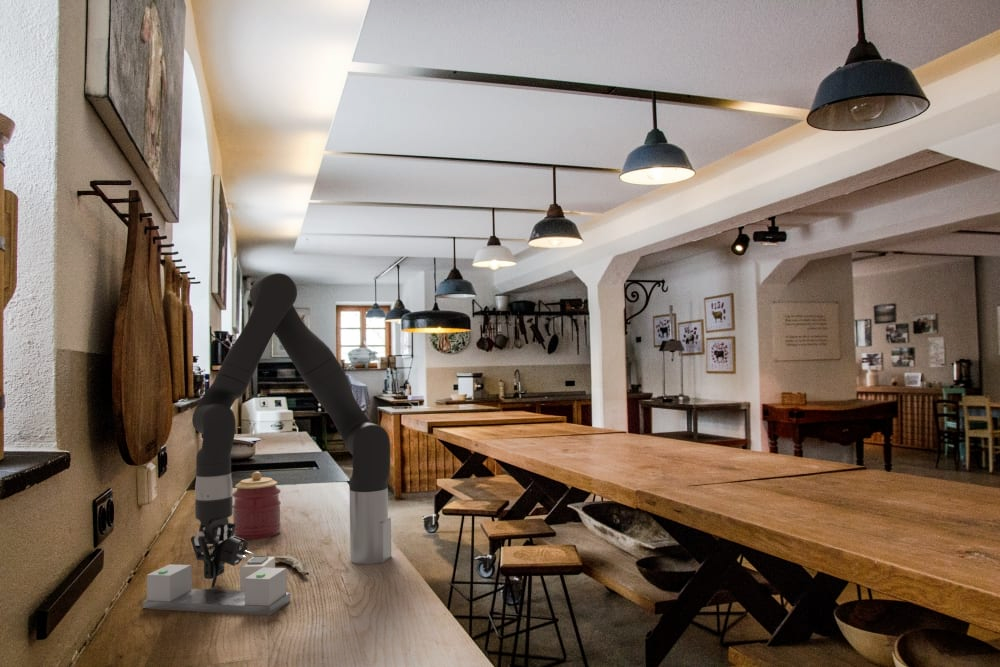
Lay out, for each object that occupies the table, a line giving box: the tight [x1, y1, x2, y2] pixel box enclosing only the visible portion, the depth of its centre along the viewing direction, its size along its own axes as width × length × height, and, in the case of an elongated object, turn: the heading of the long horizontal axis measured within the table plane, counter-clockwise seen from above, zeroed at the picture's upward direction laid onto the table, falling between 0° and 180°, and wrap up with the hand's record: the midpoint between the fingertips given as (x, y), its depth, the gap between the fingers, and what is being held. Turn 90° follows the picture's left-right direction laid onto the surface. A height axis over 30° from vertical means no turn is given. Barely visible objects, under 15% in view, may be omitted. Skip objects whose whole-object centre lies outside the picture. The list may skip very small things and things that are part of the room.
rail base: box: [142, 588, 291, 617], centre depth 138 cm, size 27×8×2 cm, turn 80°
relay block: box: [239, 556, 276, 591], centre depth 149 cm, size 5×7×6 cm
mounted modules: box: [146, 563, 287, 606], centre depth 138 cm, size 26×7×5 cm, turn 80°
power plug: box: [210, 536, 255, 587], centre depth 150 cm, size 6×8×12 cm
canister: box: [232, 471, 282, 540], centre depth 197 cm, size 13×13×18 cm
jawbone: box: [253, 554, 310, 577], centre depth 163 cm, size 9×20×2 cm, turn 55°
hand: (214, 575), depth 150 cm, fingers closed on power plug, 2 cm apart
